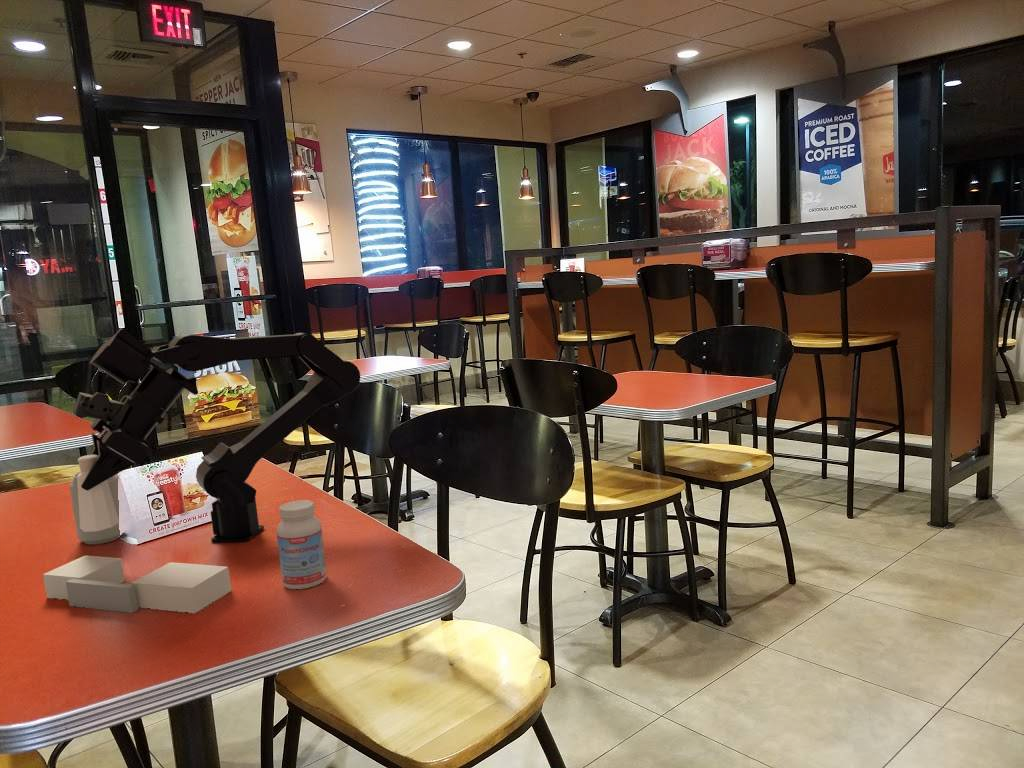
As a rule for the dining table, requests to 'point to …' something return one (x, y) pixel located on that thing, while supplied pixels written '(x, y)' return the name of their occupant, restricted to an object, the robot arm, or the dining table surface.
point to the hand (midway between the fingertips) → (82, 486)
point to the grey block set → (137, 585)
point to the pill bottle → (300, 545)
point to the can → (101, 535)
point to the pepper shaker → (94, 501)
